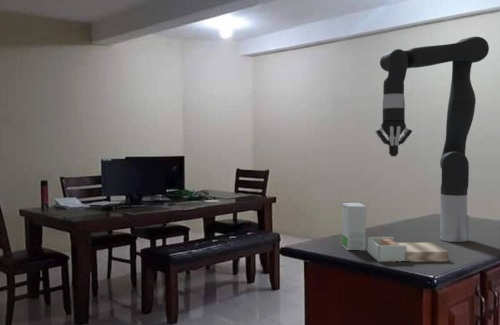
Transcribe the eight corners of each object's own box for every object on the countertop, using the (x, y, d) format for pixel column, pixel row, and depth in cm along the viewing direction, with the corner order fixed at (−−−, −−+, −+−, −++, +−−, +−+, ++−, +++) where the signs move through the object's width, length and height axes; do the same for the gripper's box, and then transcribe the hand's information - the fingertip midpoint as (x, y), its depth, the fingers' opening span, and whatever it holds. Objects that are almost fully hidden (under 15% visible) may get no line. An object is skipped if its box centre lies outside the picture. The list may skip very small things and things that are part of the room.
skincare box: (341, 246, 175) (341, 202, 175) (359, 245, 176) (359, 202, 175) (348, 251, 167) (347, 205, 167) (366, 250, 168) (366, 205, 167)
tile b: (395, 241, 158) (387, 241, 158) (398, 244, 154) (390, 244, 154) (395, 255, 158) (387, 255, 158) (398, 258, 154) (390, 258, 154)
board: (431, 251, 166) (431, 242, 166) (448, 261, 152) (448, 251, 152) (393, 251, 166) (393, 242, 166) (406, 261, 152) (406, 252, 152)
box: (393, 251, 166) (393, 236, 165) (406, 261, 152) (406, 245, 151) (367, 251, 166) (367, 237, 165) (378, 262, 152) (378, 246, 151)
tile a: (388, 238, 163) (381, 238, 163) (393, 241, 159) (385, 241, 159) (388, 251, 164) (381, 252, 163) (393, 254, 159) (385, 255, 159)
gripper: (408, 108, 177) (408, 155, 178) (372, 108, 177) (372, 156, 178) (415, 106, 170) (415, 156, 171) (377, 106, 170) (377, 156, 171)
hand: (393, 156), depth 174 cm, fingers closed
